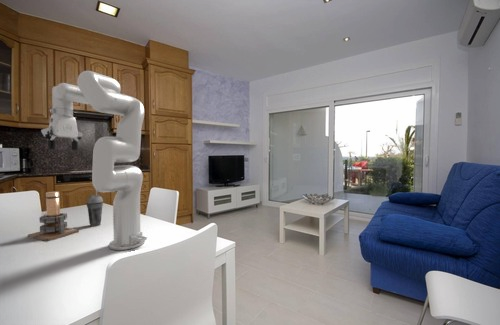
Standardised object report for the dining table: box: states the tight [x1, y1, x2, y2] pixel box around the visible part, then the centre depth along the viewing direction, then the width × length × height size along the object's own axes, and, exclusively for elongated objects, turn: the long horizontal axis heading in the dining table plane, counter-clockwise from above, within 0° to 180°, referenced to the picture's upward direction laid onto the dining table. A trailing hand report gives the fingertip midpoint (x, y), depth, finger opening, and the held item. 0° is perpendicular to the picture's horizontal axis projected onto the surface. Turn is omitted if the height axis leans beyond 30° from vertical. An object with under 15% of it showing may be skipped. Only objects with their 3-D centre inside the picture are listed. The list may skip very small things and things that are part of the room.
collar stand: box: [27, 212, 80, 242], centre depth 102 cm, size 14×12×8 cm
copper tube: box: [45, 191, 61, 234], centre depth 102 cm, size 5×5×18 cm
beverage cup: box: [85, 189, 104, 228], centre depth 116 cm, size 7×7×20 cm
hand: (63, 149), depth 109 cm, fingers open, 9 cm apart
